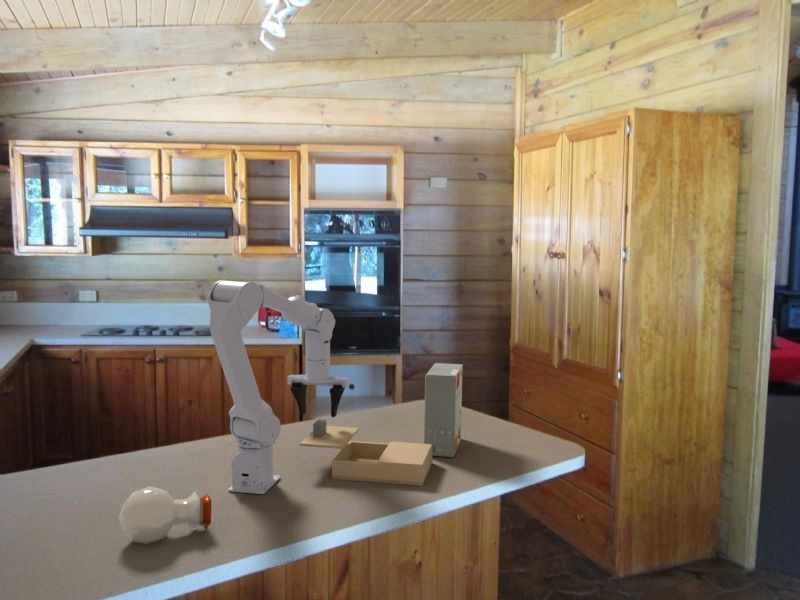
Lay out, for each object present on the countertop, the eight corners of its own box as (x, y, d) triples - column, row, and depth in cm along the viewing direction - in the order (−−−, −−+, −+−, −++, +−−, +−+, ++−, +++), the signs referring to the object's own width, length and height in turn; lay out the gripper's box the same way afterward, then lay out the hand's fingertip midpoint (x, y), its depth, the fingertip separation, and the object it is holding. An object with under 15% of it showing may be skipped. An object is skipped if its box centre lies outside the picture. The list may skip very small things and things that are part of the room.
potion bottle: (114, 551, 114) (203, 542, 121) (121, 538, 107) (215, 530, 114) (116, 497, 119) (201, 492, 126) (122, 481, 111) (212, 477, 118)
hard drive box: (454, 458, 157) (455, 376, 155) (423, 456, 158) (423, 374, 156) (461, 438, 172) (462, 363, 170) (432, 436, 174) (433, 361, 171)
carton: (422, 486, 140) (422, 465, 140) (332, 478, 144) (331, 458, 144) (432, 463, 154) (432, 443, 153) (349, 456, 158) (349, 438, 157)
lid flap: (342, 449, 143) (342, 432, 143) (299, 445, 145) (299, 430, 145) (358, 430, 156) (358, 415, 156) (319, 427, 158) (319, 413, 158)
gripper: (352, 356, 157) (352, 412, 158) (294, 354, 160) (295, 408, 161) (344, 362, 150) (344, 420, 152) (283, 359, 153) (284, 416, 154)
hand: (318, 415), depth 156 cm, fingers open, 7 cm apart
